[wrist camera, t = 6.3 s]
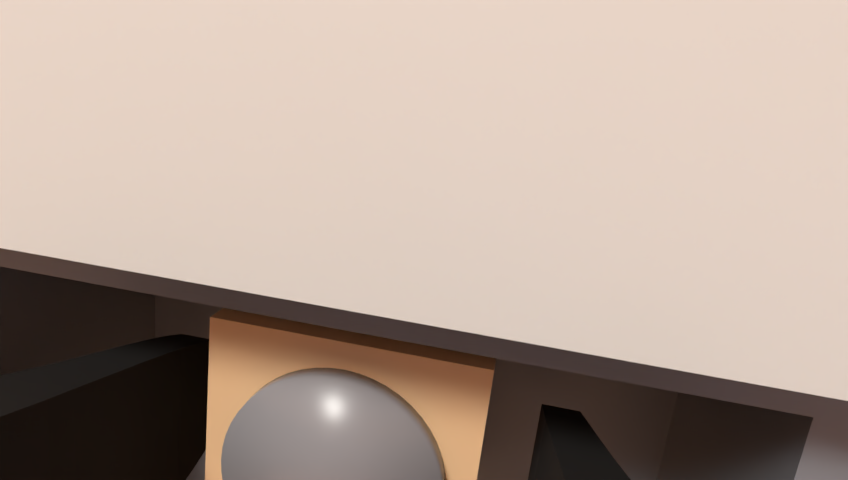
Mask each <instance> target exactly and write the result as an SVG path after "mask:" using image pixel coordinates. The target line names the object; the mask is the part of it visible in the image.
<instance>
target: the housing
mask: <svg viewBox="0 0 848 480" xmlns="http://www.w3.org/2000/svg"><path fill="white" fill-rule="evenodd" d="M223 308H227V309H232V310H238V311H243V312H248V313H254V314H259V315H265V316H270V317H275V318H281V319H286V320H292V321H297V322H302V323H308V324H313V325H319V326H324V327H329V328H335V329H340V330H345V331H351V332H356V333H362V334H367V335H372V336H378V337H383V338H389V339H394V340H399V341H405V342H410V343H415V344H421V345H426V346H432V347H437V348H442V349H448V350H453V351H459V352H464V353H469V354H475V355H480V356H486V357H491V358H496V362H495V369H494V375H493V381H492V388H491V394H490V400H489V406H488V413H487V419H486V425H485V431H484V438H483V444H482V450H481V456H480V463H479V469H478V475H477V480H528V476H529V470H530V465H531V460H532V454H533V449H534V443H535V438H536V433H537V427H538V422H539V416H540V411H541V406H542V404H545V405H550V406H556V407H561V408H566V409H571V410H576V411H580V412H581V413H582V415H583V416H584V417H585V419H586V420H587V422H588V423H589V424H590V426H591V427H592V429H593V430H594V431H595V433H596V434H597V436H598V437H599V438H600V440H601V441H602V443H603V444H604V445H605V447H606V448H607V449H608V451H609V452H610V454H611V455H612V456H613V458H614V459H615V460H616V462H617V463H618V464H619V465H620V467H621V468H622V469H623V471H624V472H625V473H626V474H627V476H628V477H629V478H630V479H631V480H848V401H845V400H840V399H834V398H829V397H823V396H818V395H812V394H806V393H801V392H795V391H790V390H784V389H779V388H773V387H768V386H762V385H757V384H751V383H746V382H740V381H734V380H729V379H723V378H718V377H712V376H707V375H701V374H696V373H690V372H685V371H679V370H674V369H668V368H662V367H657V366H651V365H646V364H640V363H635V362H629V361H624V360H618V359H613V358H607V357H602V356H596V355H591V354H585V353H579V352H574V351H568V350H563V349H557V348H552V347H546V346H541V345H535V344H530V343H524V342H519V341H513V340H507V339H502V338H496V337H491V336H485V335H480V334H474V333H469V332H463V331H458V330H452V329H447V328H441V327H435V326H430V325H424V324H419V323H413V322H408V321H402V320H397V319H391V318H386V317H380V316H375V315H369V314H363V313H358V312H352V311H347V310H341V309H336V308H330V307H325V306H319V305H314V304H308V303H303V302H297V301H291V300H286V299H280V298H275V297H269V296H264V295H258V294H253V293H247V292H242V291H236V290H231V289H225V288H219V287H214V286H208V285H203V284H197V283H192V282H186V281H181V280H175V279H170V278H164V277H159V276H153V275H147V274H142V273H136V272H131V271H125V270H120V269H114V268H109V267H103V266H98V265H92V264H87V263H81V262H75V261H70V260H64V259H59V258H53V257H48V256H42V255H37V254H31V253H26V252H20V251H15V250H9V249H3V248H0V376H1V375H5V374H10V373H14V372H18V371H23V370H27V369H31V368H36V367H40V366H44V365H49V364H53V363H57V362H61V361H65V360H69V359H73V358H77V357H81V356H85V355H89V354H93V353H96V352H100V351H104V350H108V349H112V348H116V347H120V346H124V345H128V344H132V343H136V342H140V341H144V340H149V339H153V338H158V337H163V336H169V335H177V334H185V335H190V336H196V337H201V338H206V339H209V332H210V317H211V316H212V315H214V314H215V313H217V312H218V311H220V310H221V309H223ZM205 461H206V450H205V452H204V453H203V455H202V456H201V458H200V459H199V461H198V462H197V464H196V466H195V467H194V469H193V470H192V472H191V473H190V474H189V476H188V477H187V479H186V480H205Z"/></svg>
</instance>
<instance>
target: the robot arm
mask: <svg viewBox="0 0 848 480" xmlns="http://www.w3.org/2000/svg"><path fill="white" fill-rule="evenodd" d="M208 364H209V339H206V338H201V337H196V336H190V335H185V334H177V335H169V336H163V337H158V338H153V339H149V340H144V341H140V342H136V343H132V344H128V345H124V346H120V347H116V348H112V349H108V350H104V351H100V352H96V353H93V354H89V355H85V356H81V357H77V358H73V359H69V360H65V361H61V362H57V363H53V364H49V365H44V366H40V367H36V368H31V369H27V370H23V371H18V372H14V373H10V374H5V375H1V376H0V480H186V479H187V477H188V476H189V474H190V473H191V472H192V470H193V469H194V467H195V466H196V464H197V462H198V461H199V459H200V458H201V456H202V455H203V453H204V452H205V450H206V429H207V396H208ZM528 480H631V479H630V478H629V477H628V476H627V474H626V473H625V472H624V471H623V469H622V468H621V467H620V465H619V464H618V463H617V462H616V460H615V459H614V458H613V456H612V455H611V454H610V452H609V451H608V449H607V448H606V447H605V445H604V444H603V443H602V441H601V440H600V438H599V437H598V436H597V434H596V433H595V431H594V430H593V429H592V427H591V426H590V424H589V423H588V422H587V420H586V419H585V417H584V416H583V415H582V413H581V412H580V411H576V410H571V409H566V408H561V407H556V406H550V405H545V404H542V406H541V411H540V416H539V422H538V427H537V433H536V438H535V443H534V449H533V454H532V460H531V465H530V470H529V476H528Z"/></svg>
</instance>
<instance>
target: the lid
mask: <svg viewBox="0 0 848 480" xmlns="http://www.w3.org/2000/svg"><path fill="white" fill-rule="evenodd" d="M0 248H3V249H9V250H15V251H20V252H26V253H31V254H37V255H42V256H48V257H53V258H59V259H64V260H70V261H75V262H81V263H87V264H92V265H98V266H103V267H109V268H114V269H120V270H125V271H131V272H136V273H142V274H147V275H153V276H159V277H164V278H170V279H175V280H181V281H186V282H192V283H197V284H203V285H208V286H214V287H219V288H225V289H231V290H236V291H242V292H247V293H253V294H258V295H264V296H269V297H275V298H280V299H286V300H291V301H297V302H303V303H308V304H314V305H319V306H325V307H330V308H336V309H341V310H347V311H352V312H358V313H363V314H369V315H375V316H380V317H386V318H391V319H397V320H402V321H408V322H413V323H419V324H424V325H430V326H435V327H441V328H447V329H452V330H458V331H463V332H469V333H474V334H480V335H485V336H491V337H496V338H502V339H507V340H513V341H519V342H524V343H530V344H535V345H541V346H546V347H552V348H557V349H563V350H568V351H574V352H579V353H585V354H591V355H596V356H602V357H607V358H613V359H618V360H624V361H629V362H635V363H640V364H646V365H651V366H657V367H662V368H668V369H674V370H679V371H685V372H690V373H696V374H701V375H707V376H712V377H718V378H723V379H729V380H734V381H740V382H746V383H751V384H757V385H762V386H768V387H773V388H779V389H784V390H790V391H795V392H801V393H806V394H812V395H818V396H823V397H829V398H834V399H840V400H845V401H848V0H0Z"/></svg>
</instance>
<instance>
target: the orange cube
mask: <svg viewBox="0 0 848 480" xmlns="http://www.w3.org/2000/svg"><path fill="white" fill-rule="evenodd" d="M495 362H496V358H491V357H486V356H480V355H475V354H469V353H464V352H459V351H453V350H448V349H442V348H437V347H432V346H426V345H421V344H415V343H410V342H405V341H399V340H394V339H389V338H383V337H378V336H372V335H367V334H362V333H356V332H351V331H345V330H340V329H335V328H329V327H324V326H319V325H313V324H308V323H302V322H297V321H292V320H286V319H281V318H275V317H270V316H265V315H259V314H254V313H248V312H243V311H238V310H232V309H227V308H223V309H221V310H220V311H218V312H217V313H215V314H214V315H212V316H211V317H210V332H209V364H208V396H207V429H206V461H205V480H477V475H478V469H479V463H480V456H481V450H482V444H483V438H484V431H485V425H486V419H487V413H488V406H489V400H490V394H491V388H492V381H493V375H494V369H495Z"/></svg>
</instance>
